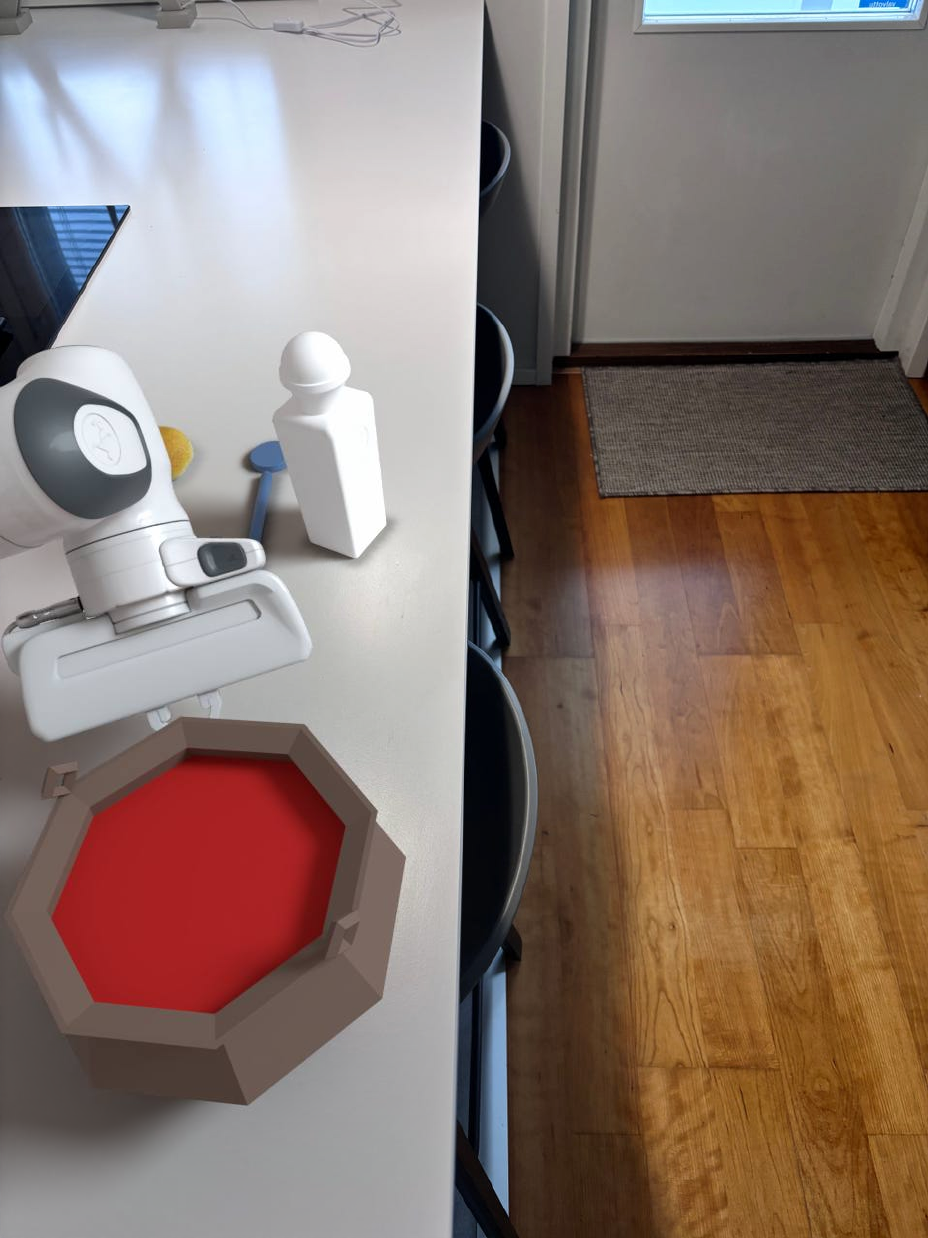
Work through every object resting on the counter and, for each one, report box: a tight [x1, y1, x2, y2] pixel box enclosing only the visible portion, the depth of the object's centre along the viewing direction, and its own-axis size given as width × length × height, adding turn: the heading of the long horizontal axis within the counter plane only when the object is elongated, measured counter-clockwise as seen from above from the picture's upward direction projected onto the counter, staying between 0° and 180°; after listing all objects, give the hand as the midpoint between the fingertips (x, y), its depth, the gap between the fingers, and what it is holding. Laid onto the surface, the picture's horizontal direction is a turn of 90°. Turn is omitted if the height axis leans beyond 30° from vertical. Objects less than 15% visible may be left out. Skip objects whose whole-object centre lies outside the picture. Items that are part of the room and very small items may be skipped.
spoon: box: [247, 440, 287, 544], centre depth 97 cm, size 19×4×1 cm, turn 1°
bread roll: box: [158, 425, 195, 482], centre depth 101 cm, size 8×9×4 cm
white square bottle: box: [272, 330, 387, 559], centre depth 85 cm, size 6×6×22 cm
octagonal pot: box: [4, 716, 407, 1107], centre depth 60 cm, size 24×24×16 cm
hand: (202, 759), depth 69 cm, fingers closed
